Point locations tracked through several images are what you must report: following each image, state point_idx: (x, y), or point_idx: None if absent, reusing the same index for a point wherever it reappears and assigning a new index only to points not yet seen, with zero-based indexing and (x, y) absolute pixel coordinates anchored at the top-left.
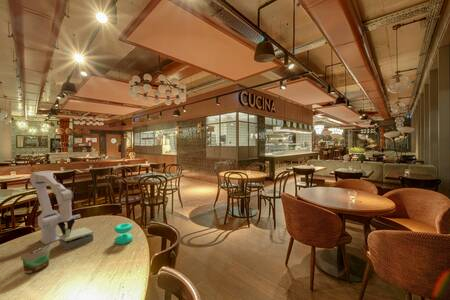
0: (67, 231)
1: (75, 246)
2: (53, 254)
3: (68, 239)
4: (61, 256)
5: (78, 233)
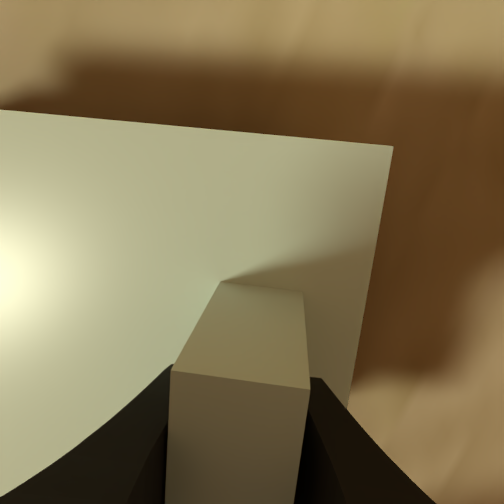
0: (269, 352)
1: None
2: (463, 199)
3: (318, 142)
4: (455, 21)
5: (41, 277)
